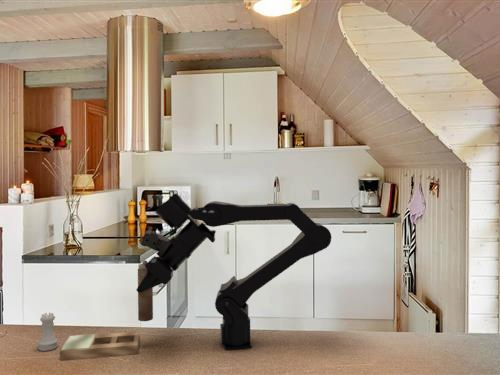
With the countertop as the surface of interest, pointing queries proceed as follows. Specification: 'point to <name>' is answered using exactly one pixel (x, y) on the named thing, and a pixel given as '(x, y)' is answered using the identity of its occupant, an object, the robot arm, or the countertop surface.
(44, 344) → the rook chess piece
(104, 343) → the board
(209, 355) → the countertop surface
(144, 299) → the pepper mill
